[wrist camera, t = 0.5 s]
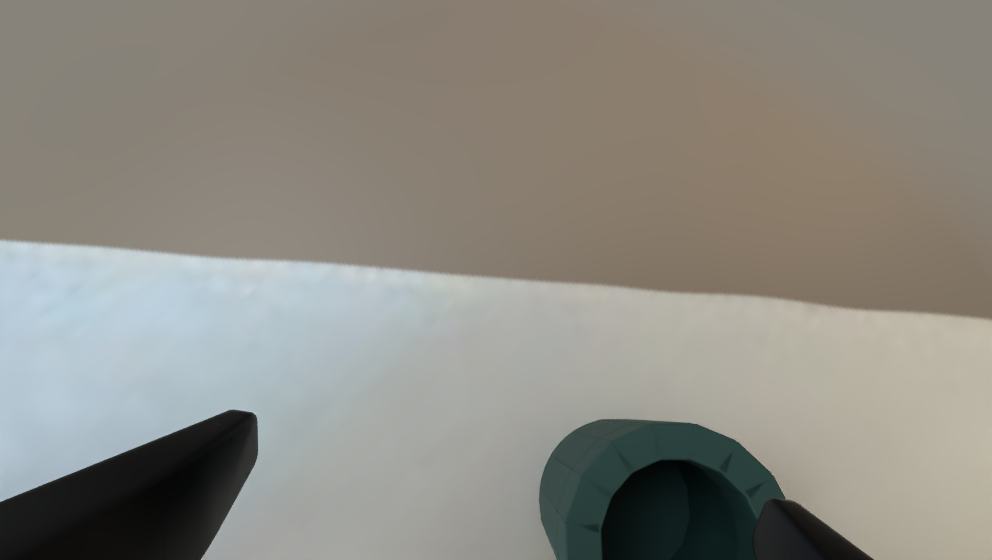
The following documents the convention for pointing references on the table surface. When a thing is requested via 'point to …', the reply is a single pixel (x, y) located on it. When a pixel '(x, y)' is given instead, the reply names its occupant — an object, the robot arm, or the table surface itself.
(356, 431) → the table surface
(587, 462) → the jar
